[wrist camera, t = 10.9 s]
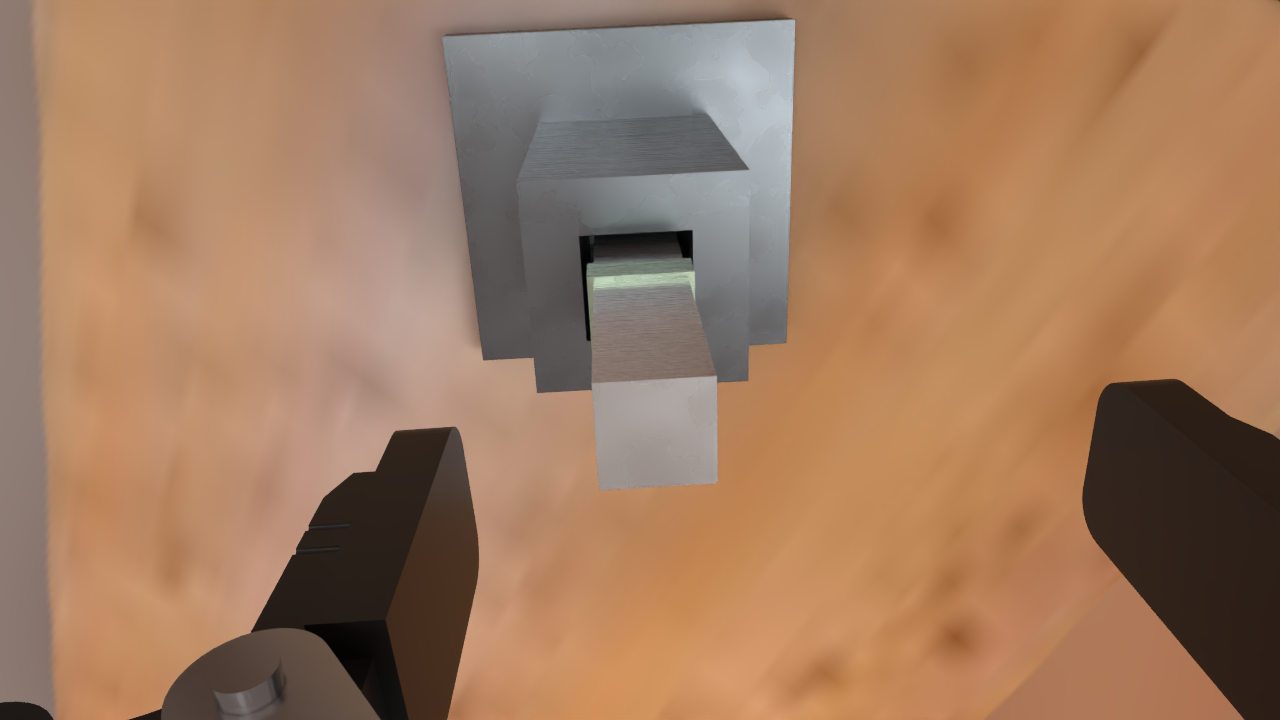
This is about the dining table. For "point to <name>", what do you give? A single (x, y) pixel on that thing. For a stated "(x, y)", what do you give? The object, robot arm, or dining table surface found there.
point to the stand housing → (624, 177)
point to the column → (649, 365)
